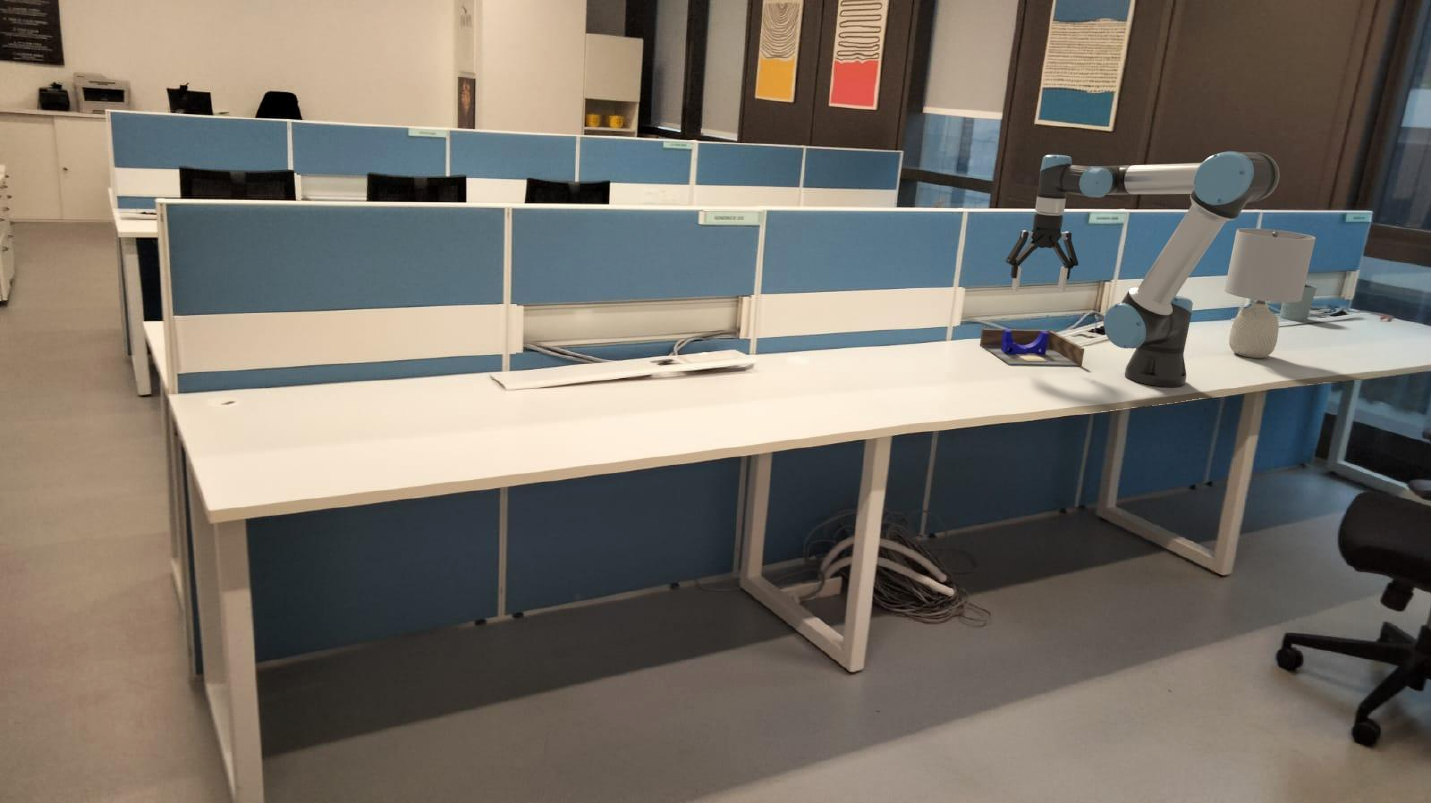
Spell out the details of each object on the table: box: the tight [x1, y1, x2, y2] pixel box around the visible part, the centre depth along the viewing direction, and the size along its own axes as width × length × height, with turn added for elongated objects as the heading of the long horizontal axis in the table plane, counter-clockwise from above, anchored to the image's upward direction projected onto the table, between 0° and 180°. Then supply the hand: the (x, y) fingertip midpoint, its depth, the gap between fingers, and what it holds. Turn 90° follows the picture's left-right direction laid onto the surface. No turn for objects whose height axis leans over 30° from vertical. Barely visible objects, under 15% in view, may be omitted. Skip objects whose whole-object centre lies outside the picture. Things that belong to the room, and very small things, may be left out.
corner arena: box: [979, 328, 1085, 367], centre depth 296 cm, size 21×21×5 cm
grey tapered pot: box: [1279, 283, 1318, 322], centre depth 365 cm, size 10×10×12 cm
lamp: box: [1224, 227, 1316, 359], centre depth 305 cm, size 20×20×37 cm
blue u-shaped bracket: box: [1001, 328, 1049, 354], centre depth 296 cm, size 12×4×6 cm, turn 90°
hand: (1038, 290), depth 289 cm, fingers open, 13 cm apart
